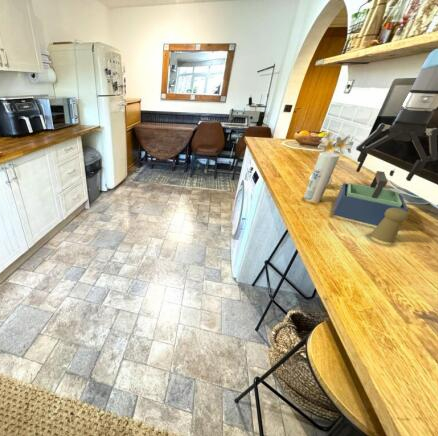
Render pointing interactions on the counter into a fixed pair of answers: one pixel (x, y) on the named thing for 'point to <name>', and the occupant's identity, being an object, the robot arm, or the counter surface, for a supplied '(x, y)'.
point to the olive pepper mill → (390, 225)
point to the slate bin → (361, 208)
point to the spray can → (321, 176)
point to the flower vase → (341, 144)
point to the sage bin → (374, 191)
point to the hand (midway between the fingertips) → (381, 175)
